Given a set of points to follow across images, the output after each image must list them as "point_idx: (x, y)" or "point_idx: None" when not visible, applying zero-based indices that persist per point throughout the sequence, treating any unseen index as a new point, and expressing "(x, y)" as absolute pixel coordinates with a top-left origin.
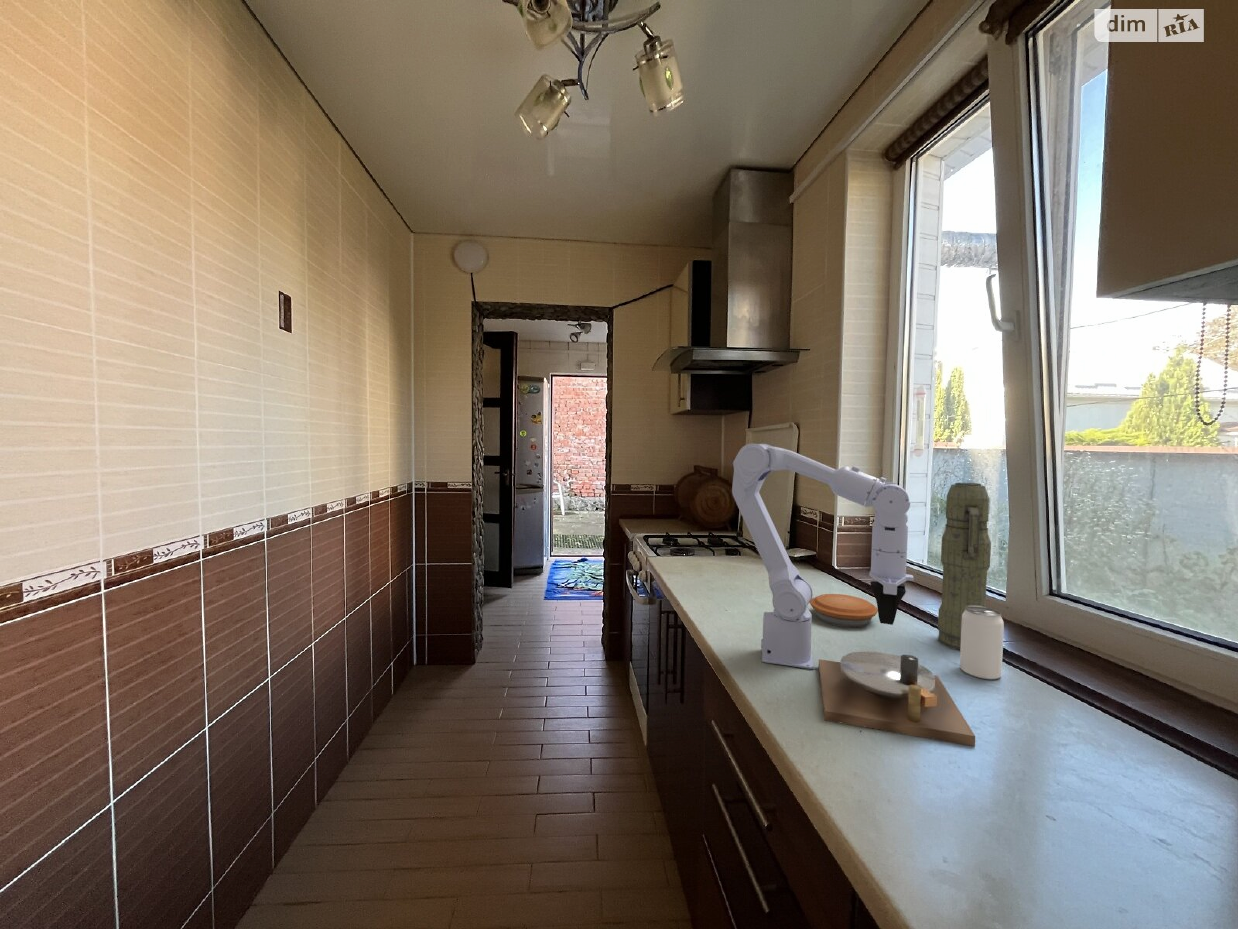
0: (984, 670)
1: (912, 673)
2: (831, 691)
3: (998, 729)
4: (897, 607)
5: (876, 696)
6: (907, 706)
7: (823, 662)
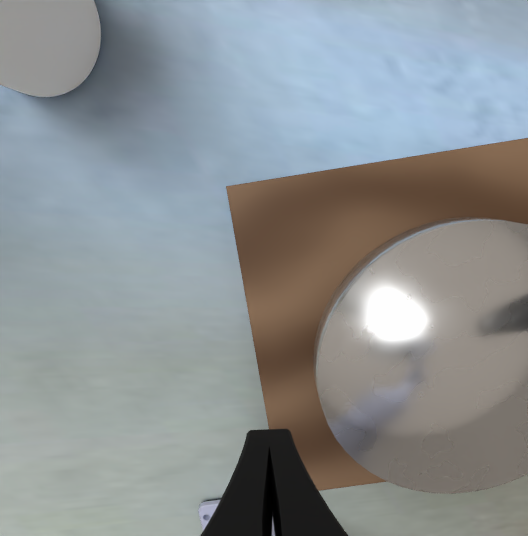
0: (87, 9)
1: None
2: None
3: (470, 47)
4: (331, 515)
5: None
6: None
7: None
